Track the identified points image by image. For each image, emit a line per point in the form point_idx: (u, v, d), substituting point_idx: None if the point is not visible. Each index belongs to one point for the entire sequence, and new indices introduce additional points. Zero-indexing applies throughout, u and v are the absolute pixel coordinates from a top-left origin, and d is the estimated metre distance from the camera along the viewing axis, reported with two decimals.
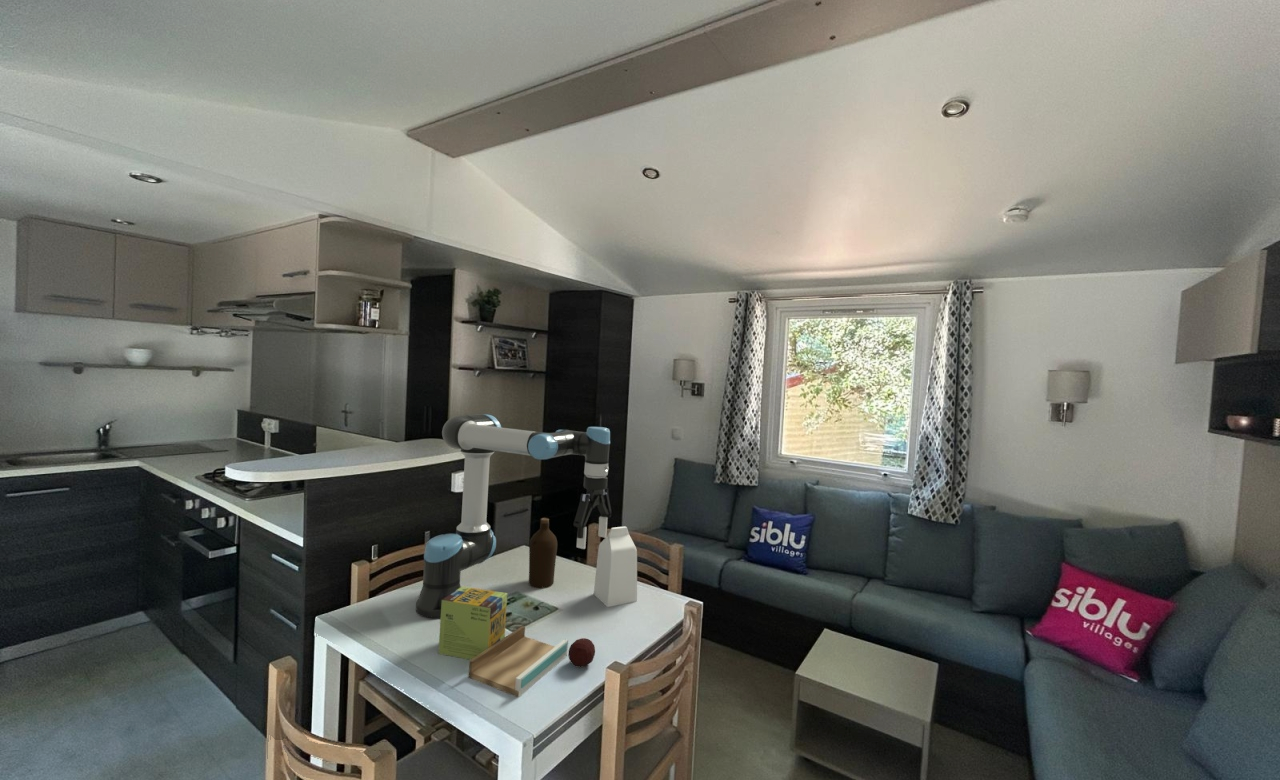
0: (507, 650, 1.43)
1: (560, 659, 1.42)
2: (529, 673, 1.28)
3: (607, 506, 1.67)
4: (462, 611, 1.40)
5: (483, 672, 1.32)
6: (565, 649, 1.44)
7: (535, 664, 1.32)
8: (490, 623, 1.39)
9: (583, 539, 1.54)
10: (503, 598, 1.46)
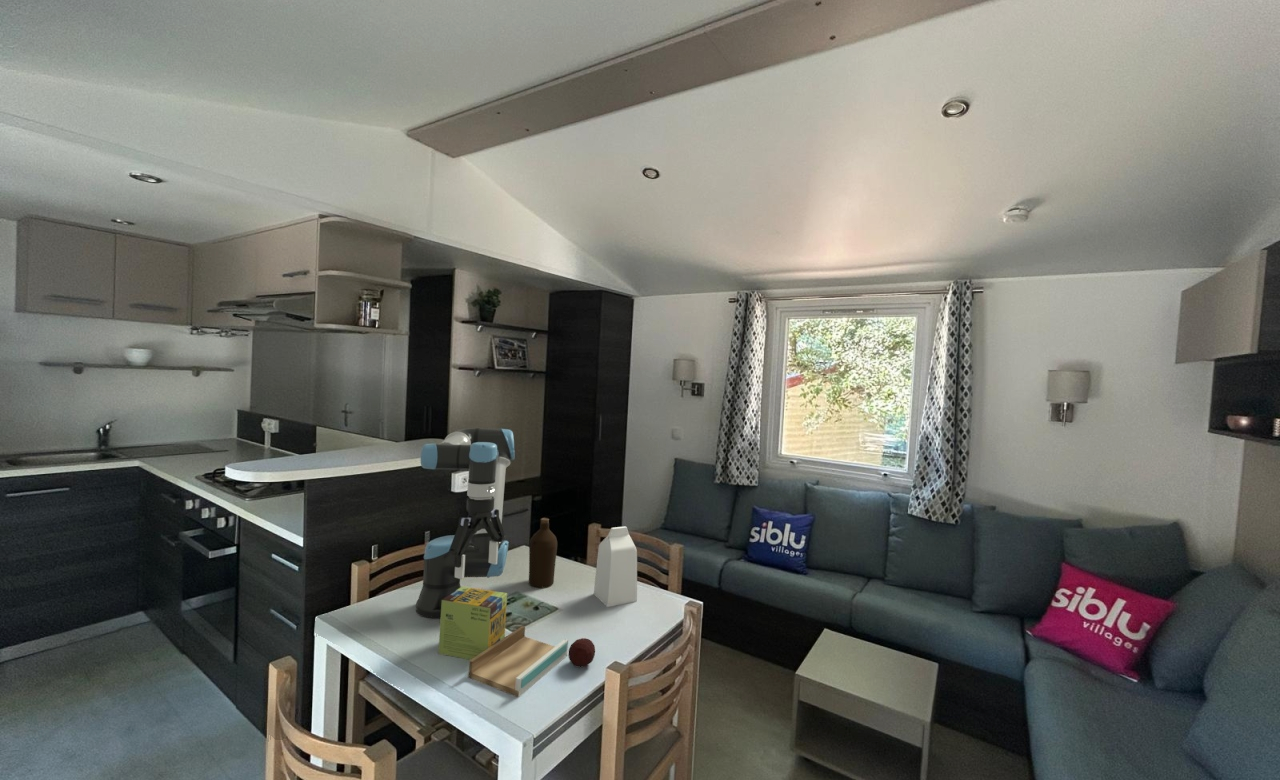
0: (507, 650, 1.43)
1: (560, 659, 1.42)
2: (529, 673, 1.28)
3: (498, 529, 1.52)
4: (462, 611, 1.40)
5: (483, 672, 1.32)
6: (565, 649, 1.44)
7: (535, 664, 1.32)
8: (490, 623, 1.39)
9: (461, 568, 1.38)
10: (503, 598, 1.46)
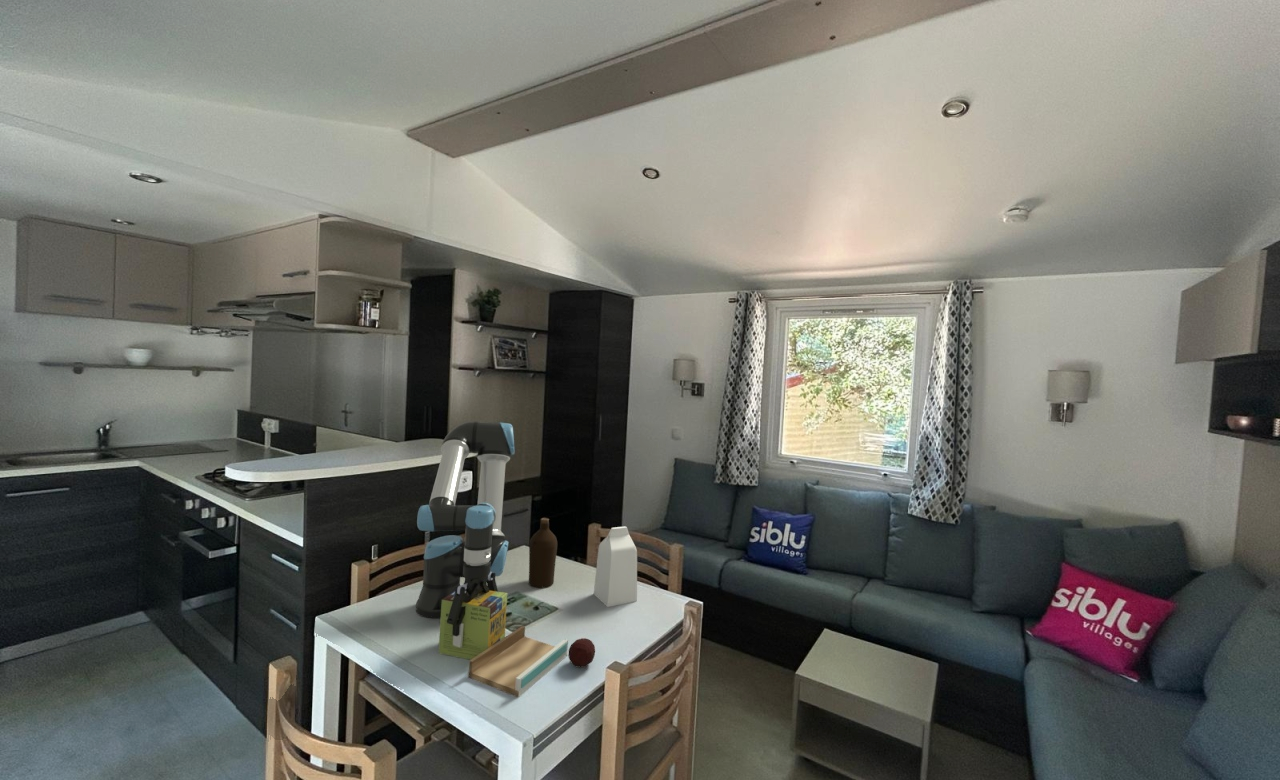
0: (507, 650, 1.43)
1: (560, 659, 1.42)
2: (529, 673, 1.28)
3: None
4: None
5: (483, 672, 1.32)
6: (565, 649, 1.44)
7: (535, 664, 1.32)
8: (490, 623, 1.39)
9: (459, 636, 1.39)
10: (503, 598, 1.46)
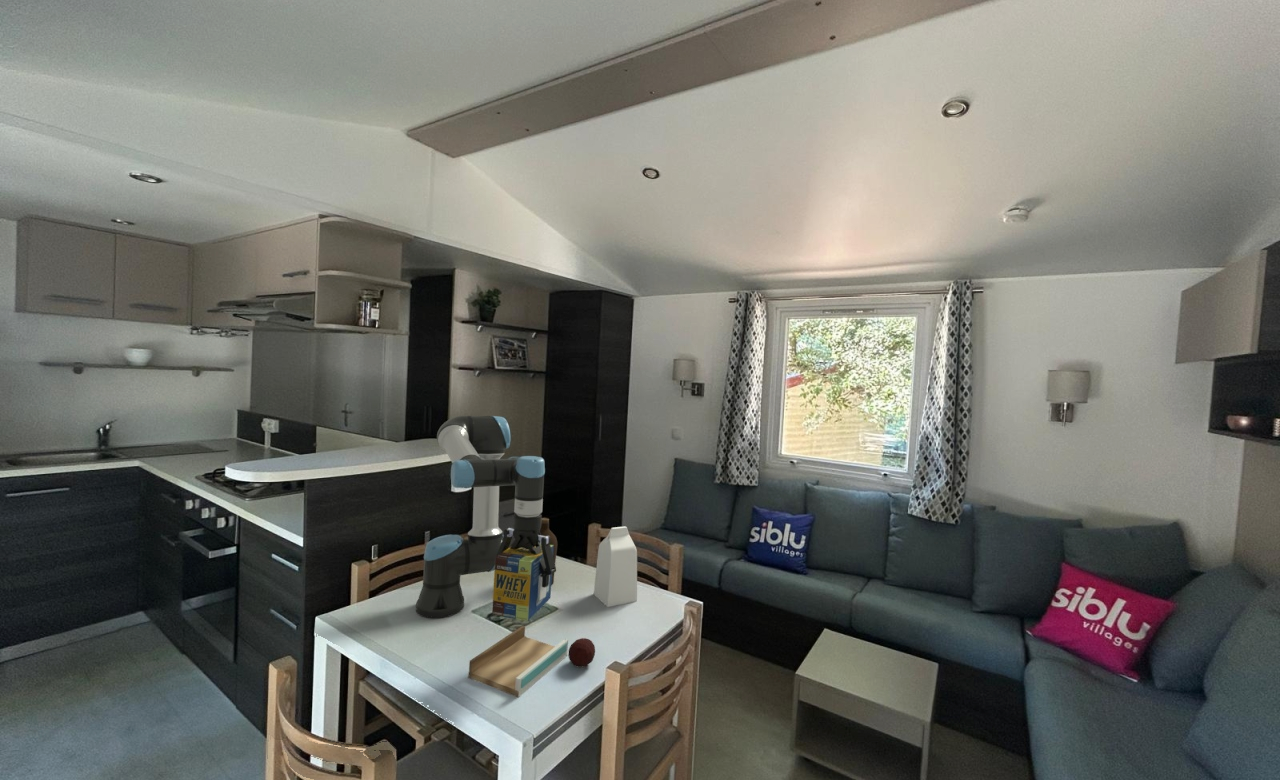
0: (507, 650, 1.43)
1: (560, 659, 1.42)
2: (529, 673, 1.28)
3: None
4: None
5: (483, 672, 1.32)
6: (565, 649, 1.44)
7: (535, 664, 1.32)
8: (496, 575, 1.31)
9: None
10: (521, 562, 1.30)
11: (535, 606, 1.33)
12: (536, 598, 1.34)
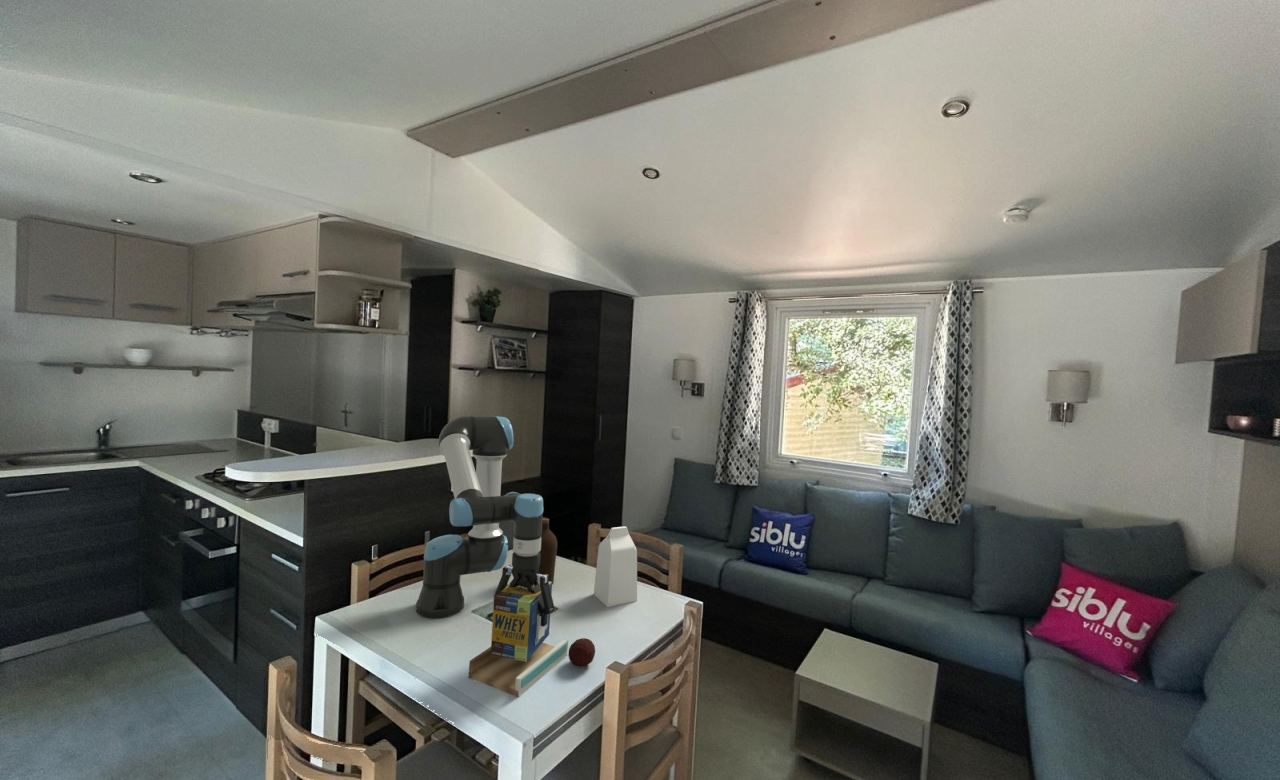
0: None
1: (560, 659, 1.42)
2: (529, 673, 1.28)
3: None
4: None
5: (483, 672, 1.32)
6: (565, 649, 1.44)
7: (535, 664, 1.32)
8: (495, 615, 1.32)
9: None
10: (520, 603, 1.30)
11: (533, 645, 1.34)
12: (535, 637, 1.34)
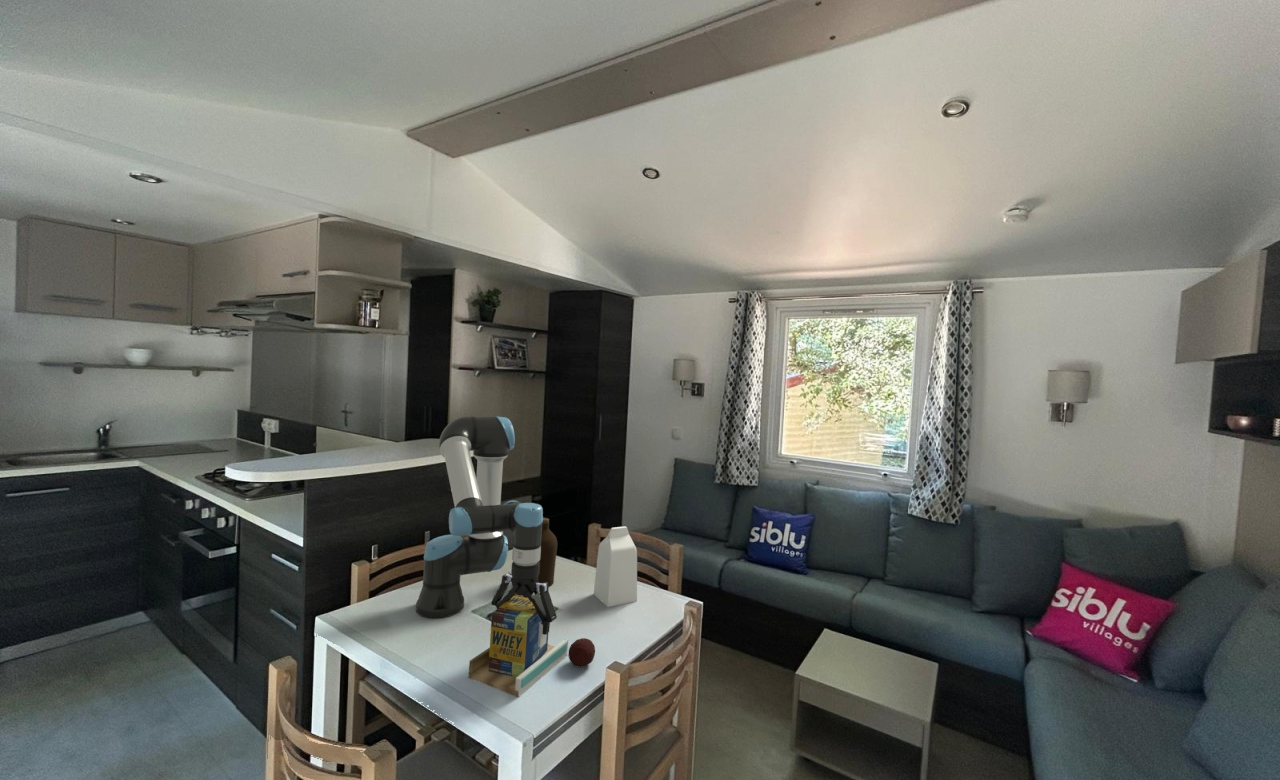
0: None
1: (560, 659, 1.42)
2: (529, 673, 1.28)
3: None
4: None
5: (483, 672, 1.32)
6: (565, 649, 1.44)
7: (535, 664, 1.32)
8: (492, 631, 1.32)
9: None
10: (517, 620, 1.30)
11: (531, 662, 1.34)
12: (532, 654, 1.34)
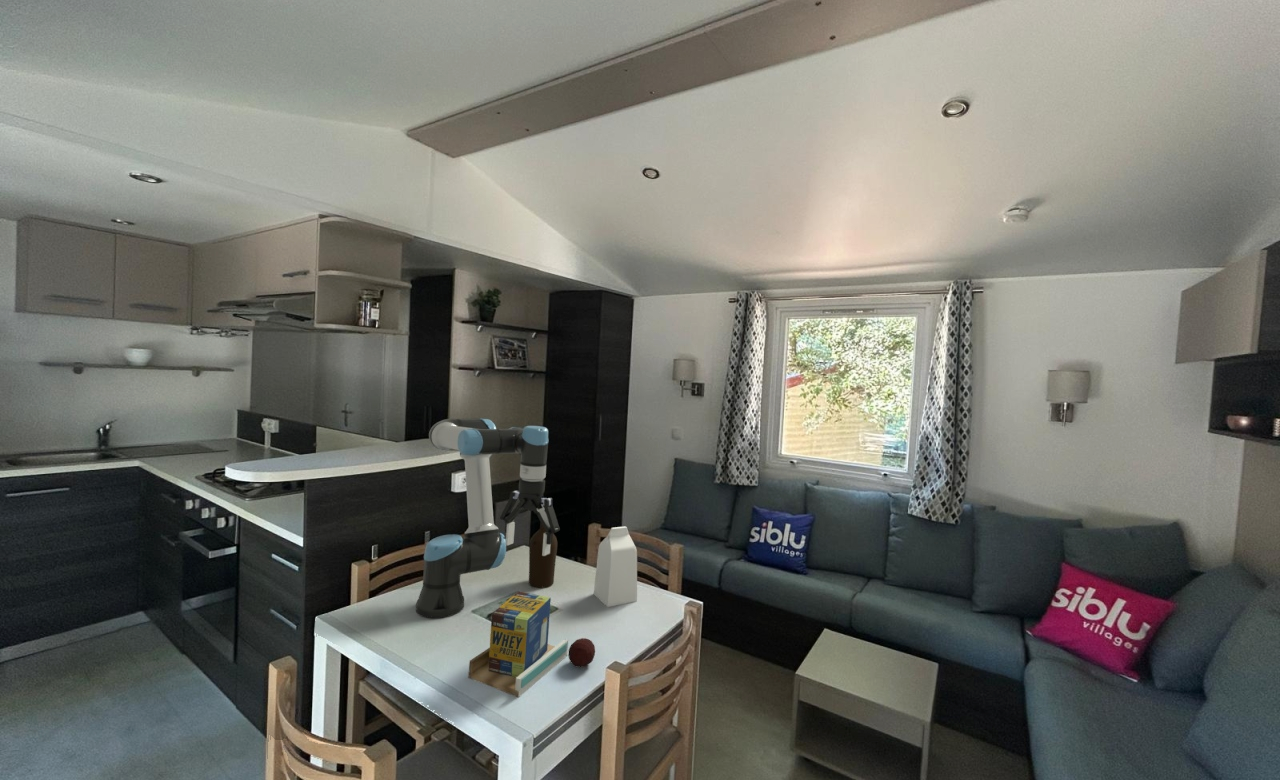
0: None
1: (560, 659, 1.42)
2: (529, 673, 1.28)
3: None
4: None
5: (483, 672, 1.32)
6: (565, 649, 1.44)
7: (535, 664, 1.32)
8: (492, 631, 1.32)
9: None
10: (517, 620, 1.30)
11: (531, 662, 1.34)
12: (532, 654, 1.34)
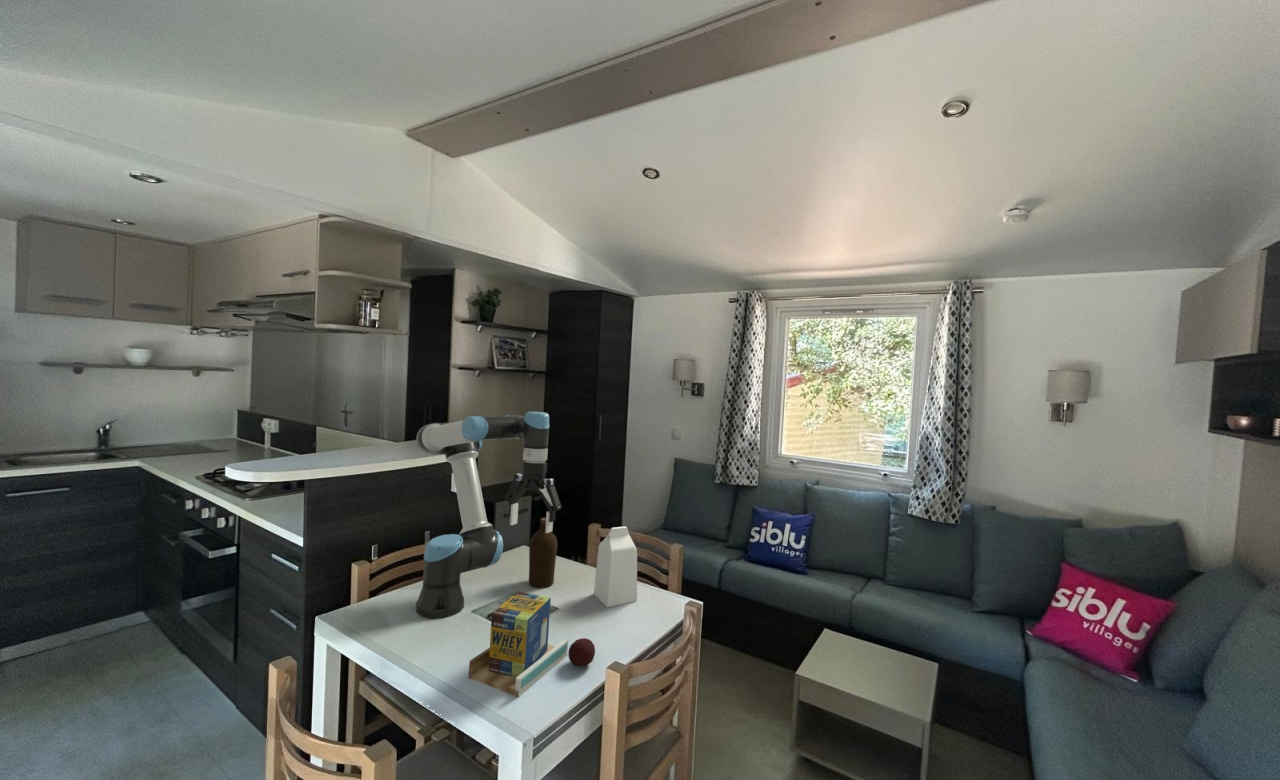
0: None
1: (560, 659, 1.42)
2: (529, 673, 1.28)
3: None
4: None
5: (483, 672, 1.32)
6: (565, 649, 1.44)
7: (535, 664, 1.32)
8: (492, 631, 1.32)
9: None
10: (517, 620, 1.30)
11: (531, 662, 1.34)
12: (532, 654, 1.34)
